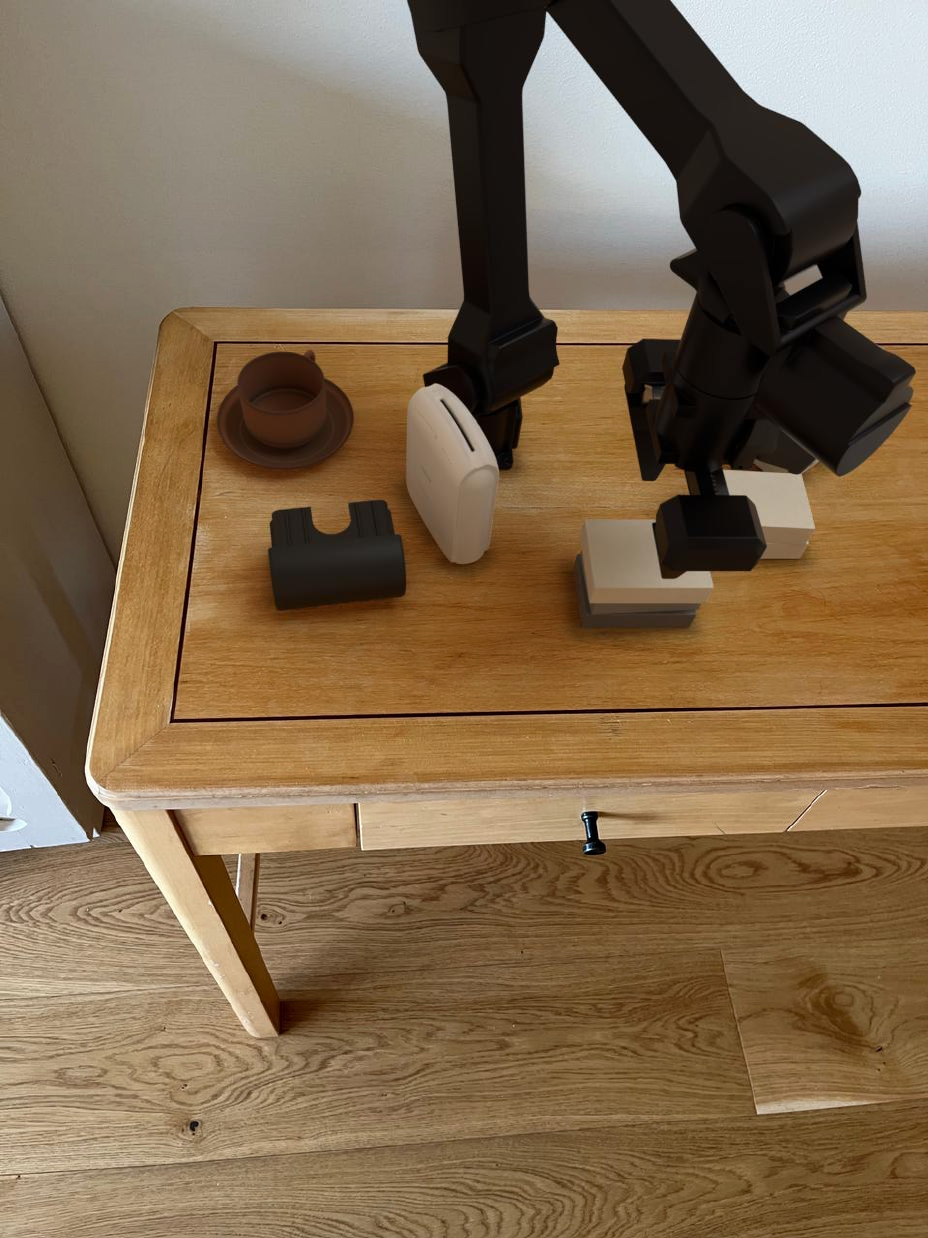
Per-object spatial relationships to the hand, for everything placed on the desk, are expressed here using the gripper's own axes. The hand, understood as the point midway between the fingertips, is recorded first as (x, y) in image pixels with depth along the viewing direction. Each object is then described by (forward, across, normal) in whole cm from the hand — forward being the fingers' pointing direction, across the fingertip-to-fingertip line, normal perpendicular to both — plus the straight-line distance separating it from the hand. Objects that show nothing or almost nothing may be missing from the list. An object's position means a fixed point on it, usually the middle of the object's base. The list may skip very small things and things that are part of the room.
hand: (658, 526), depth 69 cm
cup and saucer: (+9, +18, +29) cm, 35 cm away
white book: (+5, 0, 0) cm, 5 cm away
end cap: (+9, +1, +24) cm, 26 cm away
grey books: (+9, 0, 0) cm, 9 cm away
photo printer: (+9, +8, +15) cm, 19 cm away
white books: (+9, +7, -11) cm, 16 cm away
